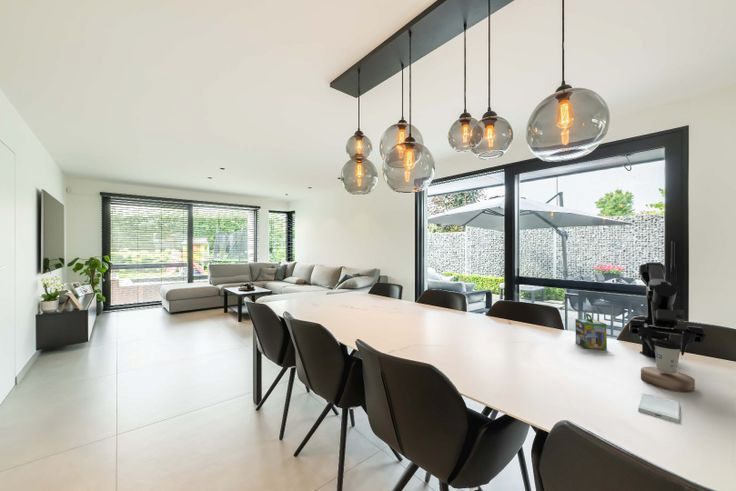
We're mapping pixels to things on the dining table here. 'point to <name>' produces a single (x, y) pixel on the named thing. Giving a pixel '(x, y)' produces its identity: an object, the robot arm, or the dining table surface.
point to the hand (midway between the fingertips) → (667, 352)
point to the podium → (668, 380)
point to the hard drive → (660, 407)
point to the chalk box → (591, 333)
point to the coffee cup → (666, 355)
